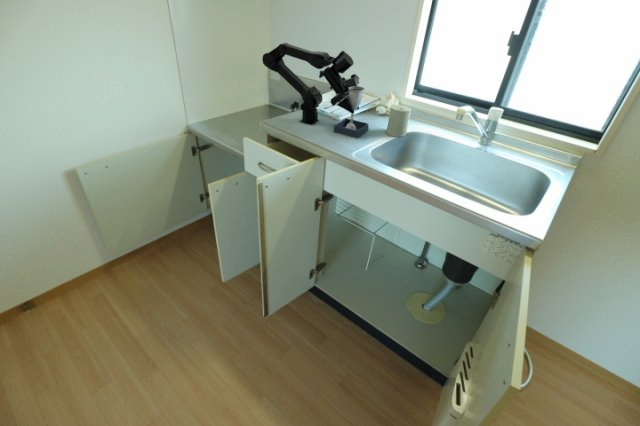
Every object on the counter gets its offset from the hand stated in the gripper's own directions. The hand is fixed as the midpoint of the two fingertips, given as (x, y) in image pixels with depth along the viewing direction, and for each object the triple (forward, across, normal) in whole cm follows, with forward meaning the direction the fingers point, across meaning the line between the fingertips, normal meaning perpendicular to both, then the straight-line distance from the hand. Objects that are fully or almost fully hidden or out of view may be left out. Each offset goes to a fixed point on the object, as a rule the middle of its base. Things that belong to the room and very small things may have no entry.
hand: (356, 111), depth 142 cm
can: (+19, +9, -6) cm, 22 cm away
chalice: (+5, 0, +7) cm, 9 cm away
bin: (+6, 0, +7) cm, 9 cm away
